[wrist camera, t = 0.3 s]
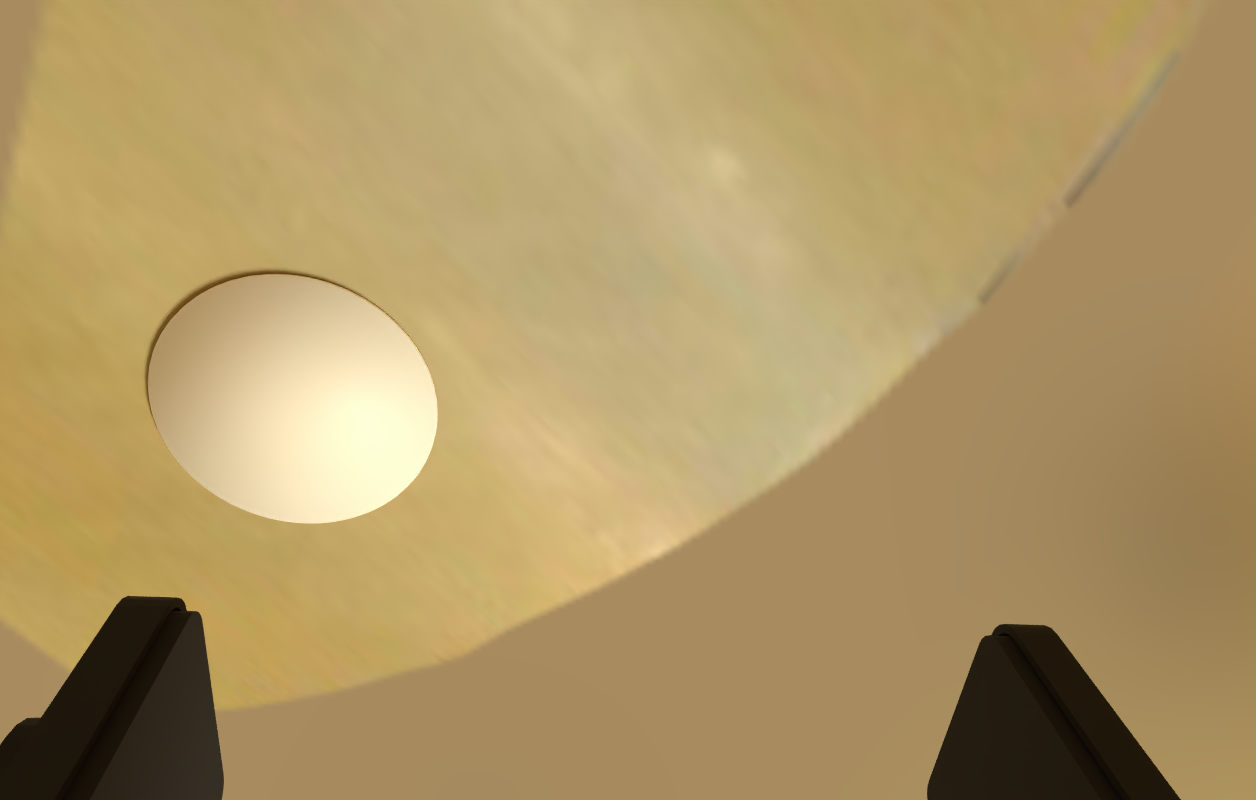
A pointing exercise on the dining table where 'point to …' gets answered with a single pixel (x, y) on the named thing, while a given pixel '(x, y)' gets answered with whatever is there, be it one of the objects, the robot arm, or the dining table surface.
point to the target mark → (292, 398)
